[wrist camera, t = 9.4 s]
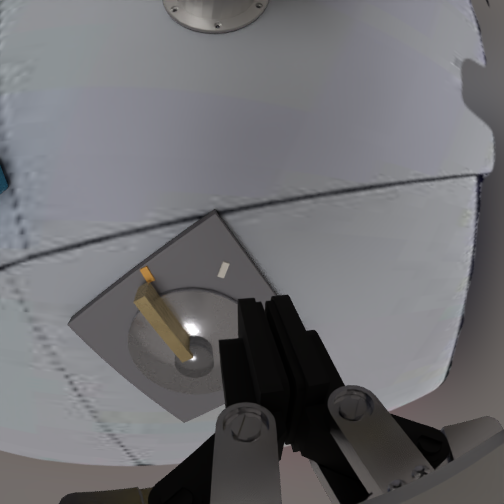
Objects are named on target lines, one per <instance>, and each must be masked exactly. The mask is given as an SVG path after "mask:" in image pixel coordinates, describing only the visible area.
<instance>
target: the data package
mask: <svg viewBox="0 0 504 504" xmlns="http://www.w3.org/2000/svg"><path fill="white" fill-rule="evenodd" d="M7 188H8V184H7V182H6V179H5V176H4V174H3V171H2V169H1V166H0V194H1V193H2V192H3V191H5V190H6V189H7Z"/></svg>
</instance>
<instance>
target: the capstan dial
mask: <svg viewBox="0 0 504 504" xmlns="http://www.w3.org/2000/svg"><path fill="white" fill-rule="evenodd" d="M133 303H134V304H135V305H136V307H137V308H138V309H139V311H138V312H137V314H136V315H135V317H134V319H133V321H132V323H131V326H130V330H129V334H128V347H129V352H130V355H131V357H132V360H133V362H134V363H135V365H136V366H137V368H138V369H139V370H140V371H141V373H142V374H143V375H145V376H146V377H147V378H148V379H149V380H151V381H152V382H154V383H155V384H157V385H159V386H161V387H163V388H166V389H168V390H171V391H175V392H179V393H185V394H207V393H213V392H217V391H221V390H223V384H222V375H221V366H220V354H219V340H222V339H235V338H238V302H237V301H236V300H234V299H232V298H231V297H229V296H227V295H224V294H222V293H219V292H216V291H213V290H208V289H202V288H182V289H176V290H172V291H168V292H165V293H162V294H160V295H159V294H158V293H157V292H156V290H155V289H154V287H153V286H152V285H151V283H150V282H147V283H145V284H143V285H142V286H140V287H138V290H137V293H136V296H135V299H134V302H133Z"/></svg>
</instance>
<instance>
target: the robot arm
mask: <svg viewBox="0 0 504 504" xmlns="http://www.w3.org/2000/svg"><path fill="white" fill-rule="evenodd" d="M268 2H269V0H163V4H164V6H165V9H166V11H167V12H168V14H169V15H170V17H171V18H173V19H174V20H175V21H176V22H177V23H179V24H180V25H182V26H184V27H185V28H188V29H191V30H193V31H198V32H202V33H214V34H215V33H226V32H230V31H235V30H238V29H240V28H243V27H245V26H247V25H249V24H250V23H252V22H253V21H255V20H256V19H257V18H258V17H259V16H260V15H261V14H262V12H263V11H264V10H265V8H266V6H267V4H268ZM256 7H259V8H260V9H259V8H256ZM174 10H177V12H173V11H174ZM216 26H219V27H220V28H215V27H216ZM219 354H220V366H221V375H222V384H223V391H224V399H225V407H226V409H224V410H223V411H222V412H221V413H220V415H219V416H218V419H217V422H216V430H215V433H214V434H213V435H212V436H211V437H210V438H209V439H208V440H207V441H206V442H204V443H203V444H202V445H201V446H200V447H199V448H198V449H197V450H196V451H194V452H193V453H192V454H191V455H190V456H189V457H188V458H186V459H185V460H184V461H183V462H182V463H181V464H179V465H178V466H177V467H176V468H175V469H174V470H172V471H171V472H170V473H169V474H168V475H166V476H165V477H164V478H163V479H162V480H161V481H159V482H158V483H157V484H156V485H155V486H154V487H152V488H145V489H139V488H138V487H134V488H127V489H118V490H108V491H95V492H75V493H71V494H67V495H66V496H64V497H63V498H62V499H61V501H60V503H59V504H282V500H281V486H280V472H279V461H280V460H281V455H282V451H283V446H284V442H285V444H286V445H288V444H291V446H292V449H293V452H297V451H300V452H301V455H302V456H304V457H306V458H308V459H309V461H310V464H311V466H312V468H313V470H314V472H315V474H316V475H317V477H318V479H319V481H320V483H321V485H322V486H323V488H324V490H325V492H326V494H327V495H328V497H329V499H330V501H331V502H332V504H504V429H503V428H502V426H501V424H500V423H499V421H498V420H496V419H495V418H493V417H490V416H485V417H481V418H477V419H473V420H470V421H466V422H462V423H458V424H454V425H449V426H445V427H443V428H442V429H441V430H437V429H435V428H433V427H429V426H426V425H423V424H420V423H417V422H414V421H411V420H408V419H405V418H402V417H399V416H396V415H393V414H390V413H389V412H388V411H387V409H386V408H385V407H384V406H383V404H382V403H381V402H380V401H379V399H378V398H377V397H376V396H375V395H374V394H373V393H372V392H371V391H370V390H368V389H366V388H364V387H360V386H357V385H347V386H345V385H344V383H343V381H342V379H341V377H340V375H339V373H338V371H337V370H336V368H335V366H334V364H333V362H332V360H331V358H330V356H329V354H328V352H327V350H326V348H325V346H324V344H323V342H322V341H321V339H320V337H319V335H318V333H317V332H316V331H315V330H309V331H306V330H305V328H304V326H303V323H302V321H301V319H300V317H299V315H298V313H297V311H296V309H295V307H294V305H293V303H292V301H291V299H290V297H289V295H279V296H272V297H271V301H266V302H265V310H264V307H263V305H262V302H261V301H260V302H256V300H255V298H242V299H238V338H235V339H222V340H219Z"/></svg>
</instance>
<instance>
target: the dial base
mask: <svg viewBox="0 0 504 504" xmlns="http://www.w3.org/2000/svg"><path fill="white" fill-rule="evenodd" d="M147 282H150V283H151V285H152V286H153V287H154V289H155V290H156V292H157V293H158V294H159V295H160V294H162V293H165V292H168V291H172V290H176V289H182V288H202V289H208V290H213V291H216V292H219V293H222V294H224V295H227V296H229V297H231V298H232V299H234V300H236V301H237V302H238V299H242V298H255V300H256V302H260V301H261V302H262V305H263V307H264V310H265V302H266V301H271V297H272V296H277V294H276V293H275V292H274V290H273V289H272V288H271V286H270V285H269V283H268V282H267V281H266V279H265V278H264V277H263V275H262V274H261V272H260V271H259V270H258V268H257V267H256V266H255V264H254V263H253V261H252V260H251V259H250V257H249V256H248V255H247V253H246V252H245V250H244V249H243V248H242V246H241V245H240V243H239V242H238V241H237V239H236V238H235V237H234V235H233V234H232V232H231V231H230V230H229V228H228V227H227V226H226V224H225V223H224V221H223V220H222V219H221V217H220V216H219V214H218V213H217V212H216V210H215V209H214V210H213V211H211V212H210V213H209V214H207V215H206V216H204V217H203V218H201V219H200V220H199V221H197V222H196V223H194V224H193V225H192V226H190V227H189V228H187V229H186V230H185V231H183V232H182V233H180V234H179V235H178V236H176V237H175V238H173V239H172V240H171V241H169V242H168V243H167V244H165V245H164V246H162V247H161V248H160V249H158V250H157V251H156V252H154V253H153V254H152V255H150V256H149V257H148V258H146V259H145V260H144V261H142V262H141V263H140V264H138V265H137V266H136V267H134V268H133V269H132V270H130V271H129V272H128V273H126V274H125V275H124V276H123V277H121V278H120V279H119V280H117V281H116V282H115V283H113V284H112V285H111V286H110V287H108V288H107V289H106V290H105V291H103V292H102V293H101V294H99V295H98V296H97V297H96V298H94V299H93V300H92V301H91V302H89V303H88V304H87V305H86V306H85V307H83V308H82V309H81V310H80V311H78V312H77V313H76V314H75V315H74V316H72V317H71V319H70V321H69V323H68V324H67V325H68V326H69V327H70V328H71V329H72V330H73V331H74V332H75V333H76V334H77V335H78V336H79V337H80V338H81V339H82V340H83V341H84V342H85V343H86V344H87V345H88V346H89V347H90V348H92V349H93V350H94V351H95V352H96V353H97V354H98V355H99V356H100V357H101V358H102V359H104V360H105V361H106V362H107V363H108V364H109V365H110V366H111V367H113V368H114V369H115V370H116V371H117V372H118V373H120V374H121V375H122V376H123V377H124V378H126V379H127V380H128V381H129V382H130V383H132V384H133V385H134V386H135V387H137V388H138V389H139V390H140V391H142V392H143V393H144V394H145V395H147V396H148V397H149V398H151V399H152V400H153V401H155V402H156V403H157V404H159V405H160V406H161V407H163V408H164V409H166V410H167V411H168V412H170V413H171V414H173V415H174V416H175V417H177V418H178V419H180V420H181V421H183V422H184V423H185V422H187V421H189V420H191V419H194V418H196V417H198V416H200V415H202V414H204V413H207V412H209V411H211V410H213V409H215V408H217V407H219V406H221V405H223V404H225V399H224V391H223V390H221V391H217V392H213V393H207V394H185V393H179V392H175V391H171V390H168V389H166V388H163V387H161V386H159V385H157V384H155V383H154V382H152V381H151V380H149V379H148V378H147V377H146V376H145V375H143V374H142V373H141V371H140V370H139V369H138V368H137V366H136V365H135V363H134V362H133V360H132V357H131V355H130V352H129V347H128V334H129V330H130V326H131V323H132V321H133V319H134V317H135V315H136V314H137V312H138V311H139V309H138V308H137V307H136V305H135V304H134V303H133V302H134V299H135V296H136V293H137V290H138V287H140V286H142V285H143V284H145V283H147Z"/></svg>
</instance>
